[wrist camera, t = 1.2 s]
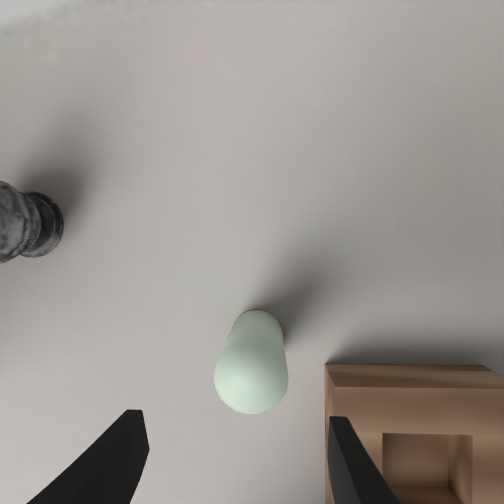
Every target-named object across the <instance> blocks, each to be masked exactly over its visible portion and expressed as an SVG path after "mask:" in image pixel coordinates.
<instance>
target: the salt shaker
mask: <svg viewBox="0 0 504 504" xmlns="http://www.w3.org/2000/svg"><path fill="white" fill-rule="evenodd" d="M62 233H63V219H62V214H61V212H60V210H59V208H58V206H57V205H56V204H55V203H54V202H53V200H52V199H50V198H49V197H47V196H46V195H44V194H41V193H38V192H24V193H21V192H19V191H18V190H17V189H16V188H14V187H13V186H11V185H10V184H8V183H6V182H3V181H0V263H5V262H7V261H9V260H11V259H13V258H15V257H16V256H18V255H22V256H25V257H39V256H44V255H45V254H47V253H49V252H51V251H52V250H53V249H54V248H55V247H56V246H57V244H58V243H59V241H60V239H61V236H62Z"/></svg>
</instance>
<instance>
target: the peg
mask: <svg viewBox="0 0 504 504" xmlns="http://www.w3.org/2000/svg"><path fill="white" fill-rule="evenodd" d="M214 381H215V386H216V389H217V392H218V394H219V396H220V397H221V398H222V400H223V401H224V402H225V403H226V404H227V405H228V406H230V407H231V408H232V409H234V410H236V411H239V412H242V413H246V414H259V413H263V412H266V411H268V410H270V409H272V408H273V407H275V406H276V405H277V404H278V403H279V402H280V401H281V399H282V398H283V396H284V394H285V392H286V390H287V386H288V370H287V363H286V356H285V348H284V341H283V334H282V329H281V326H280V324H279V322H278V321H277V319H276V318H275V317H274V316H272V315H271V314H269V313H267V312H265V311H261V310H252V311H248V312H246V313H244V314H242V315H241V316H240V317H238V319H237V320H236V321H235V323H234V325H233V327H232V329H231V332H230V334H229V336H228V338H227V341H226V343H225V345H224V348H223V350H222V352H221V355H220V357H219V359H218V361H217V364H216V367H215V372H214Z"/></svg>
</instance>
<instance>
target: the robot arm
mask: <svg viewBox="0 0 504 504" xmlns="http://www.w3.org/2000/svg"><path fill="white" fill-rule="evenodd" d="M149 450H150V449H149V444H148V439H147V433H146V428H145V423H144V417H143V412H142V410H126V411H125V412H124V413H123V414H122V415H121V416H120V417H119V418H118V419H117V420H116V421H115V422H114V423H113V424H112V425H111V426H110V427H109V428H108V429H107V430H106V431H105V432H104V433H103V434H102V435H101V436H100V437H99V438H98V439H97V440H96V441H95V442H94V443H93V444H92V445H91V446H90V447H89V448H88V449H87V450H86V451H85V452H84V453H83V454H81V455H80V456H79V457H78V458H77V459H76V460H75V461H74V462H73V463H72V464H71V465H70V466H69V467H68V468H67V469H66V470H64V471H63V472H62V473H61V474H60V475H59V476H58V477H57V478H56V479H55V480H53V481H52V482H51V483H50V484H49V485H48V486H47V487H46V488H44V489H43V490H42V491H41V492H40V493H39V494H38V495H36V496H35V497H34V498H33V499H32V500H30V501H29V502H28V503H27V504H130V502H131V499H132V497H133V495H134V492H135V490H136V488H137V485H138V483H139V481H140V478H141V475H142V472H143V469H144V466H145V463H146V459H147V456H148V453H149ZM327 461H328V468H329V475H330V482H331V489H332V494H333V499H334V503H335V504H401V502H400V501H399V500H398V498H397V497H396V495H395V494H394V493H393V491H392V490H391V488H390V487H389V485H388V484H387V482H386V481H385V479H384V478H383V476H382V475H381V473H380V472H379V470H378V469H377V467H376V465H375V464H374V462H373V461H372V459H371V458H370V456H369V454H368V453H367V451H366V449H365V448H364V446H363V444H362V443H361V441H360V439H359V437H358V436H357V434H356V432H355V430H354V428H353V426H352V424H351V422H350V420H349V419H348V418H347V417H344V416H329V430H328V449H327Z"/></svg>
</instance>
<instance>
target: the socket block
mask: <svg viewBox="0 0 504 504" xmlns="http://www.w3.org/2000/svg"><path fill="white" fill-rule="evenodd" d="M329 416H344V417H347V418H348V419H349V420H350V422H351V424H352V426H353V428H354V430H355V432H356V434H357V436H358V437H359V439H360V441H361V443H362V444H363V446H364V448H365V449H366V451H367V453H368V454H369V456H370V458H371V459H372V461H373V462H374V464H375V465H376V467H377V469H378V470H379V472H380V473H381V475H382V476H383V478H384V479H385V481H386V482H387V484H388V485H389V487H390V488H391V490H392V491H393V493H394V494H395V495H396V497H397V498H398V500H399V501H400V502H401V504H504V378H503V377H502V376H500V375H498V374H497V373H495V372H493V371H491V370H490V369H488V368H486V367H485V366H483V365H393V364H325V450H326V504H335V503H334V499H333V494H332V489H331V482H330V475H329V468H328V461H327V449H328V430H329Z"/></svg>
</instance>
